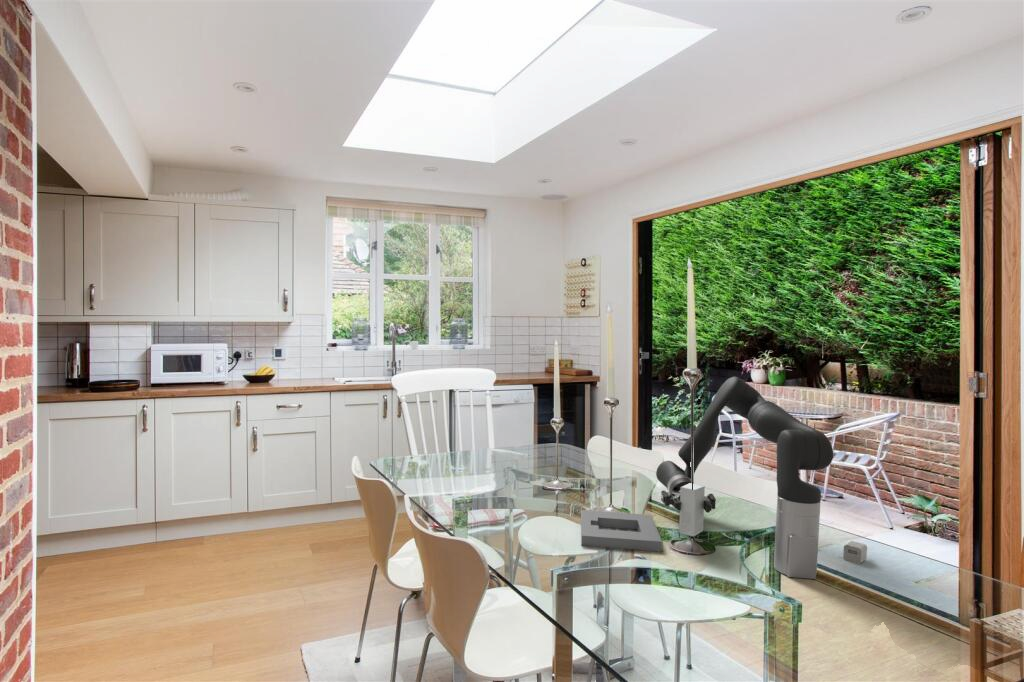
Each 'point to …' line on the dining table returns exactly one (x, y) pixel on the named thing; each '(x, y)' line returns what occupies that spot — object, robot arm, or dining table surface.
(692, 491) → the skincare box
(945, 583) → the dining table surface
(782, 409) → the robot arm
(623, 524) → the block
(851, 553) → the usb wall charger
